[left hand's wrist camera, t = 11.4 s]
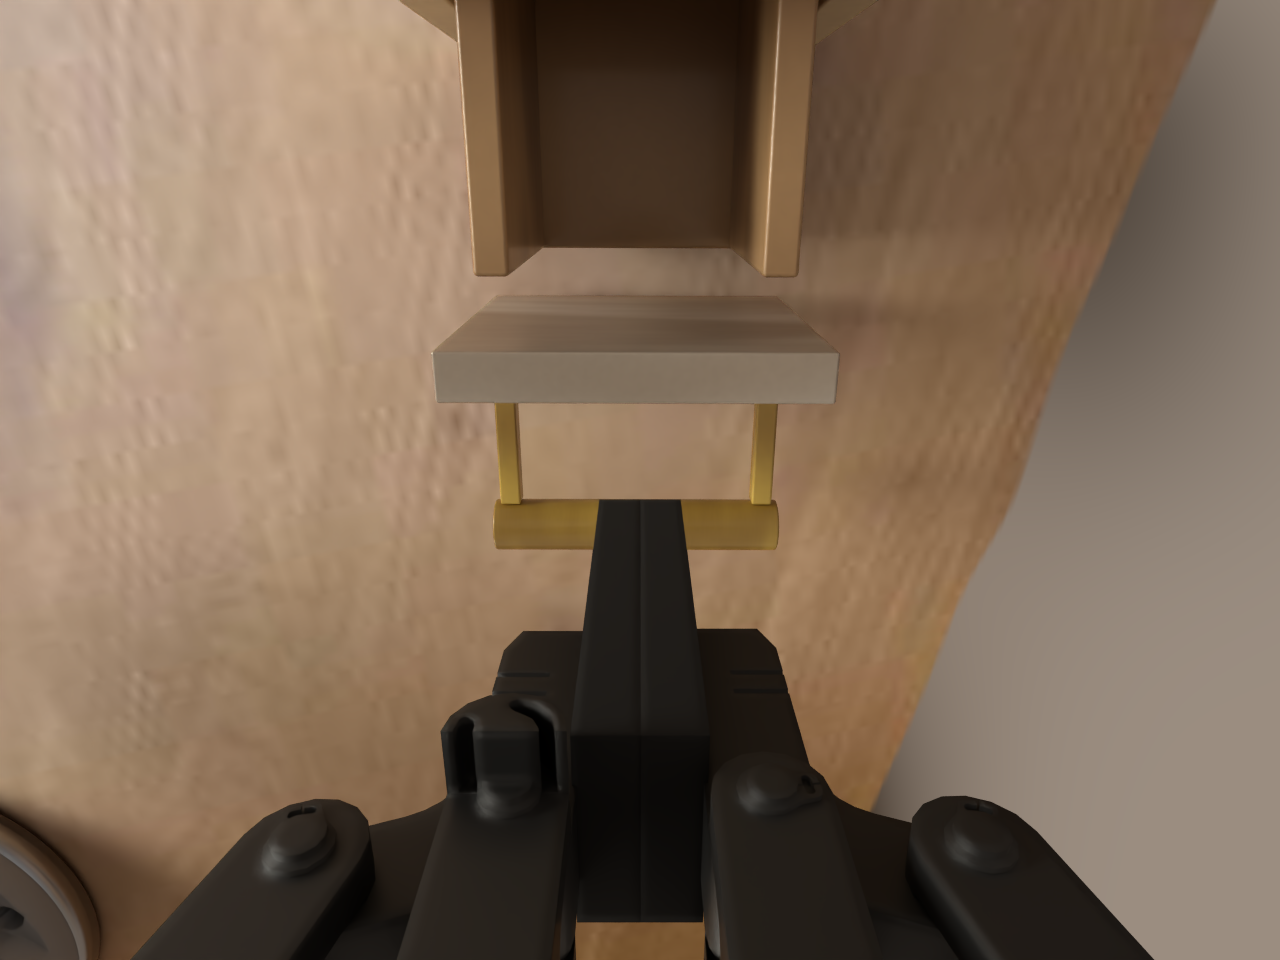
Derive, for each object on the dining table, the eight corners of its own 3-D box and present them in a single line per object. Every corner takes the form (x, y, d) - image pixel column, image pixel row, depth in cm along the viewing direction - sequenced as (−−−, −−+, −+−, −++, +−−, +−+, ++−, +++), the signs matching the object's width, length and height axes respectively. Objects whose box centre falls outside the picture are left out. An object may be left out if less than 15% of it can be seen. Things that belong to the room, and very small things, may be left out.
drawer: (765, 496, 29) (814, 626, 20) (508, 495, 28) (455, 625, 20) (815, -280, 21) (929, -573, 13) (460, -282, 21) (344, -575, 12)
